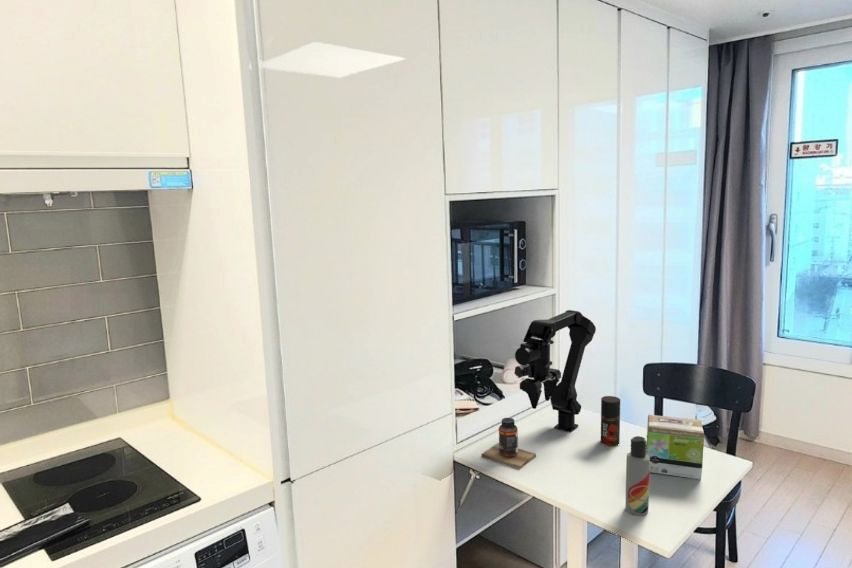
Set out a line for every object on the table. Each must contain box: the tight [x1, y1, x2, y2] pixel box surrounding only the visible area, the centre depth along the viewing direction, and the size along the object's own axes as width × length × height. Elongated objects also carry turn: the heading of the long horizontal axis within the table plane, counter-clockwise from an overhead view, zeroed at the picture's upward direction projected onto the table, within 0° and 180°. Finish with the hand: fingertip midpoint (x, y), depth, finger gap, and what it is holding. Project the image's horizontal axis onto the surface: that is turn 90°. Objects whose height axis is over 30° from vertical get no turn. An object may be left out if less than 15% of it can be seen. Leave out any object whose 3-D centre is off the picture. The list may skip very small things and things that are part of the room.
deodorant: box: [600, 395, 621, 447], centre depth 191 cm, size 6×6×15 cm
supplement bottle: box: [498, 417, 519, 457], centre depth 183 cm, size 6×6×11 cm
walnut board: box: [480, 442, 537, 470], centre depth 184 cm, size 10×14×1 cm
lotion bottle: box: [625, 435, 651, 516], centre depth 150 cm, size 6×6×20 cm
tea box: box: [646, 414, 705, 481], centre depth 172 cm, size 15×10×15 cm
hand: (540, 404), depth 192 cm, fingers open, 9 cm apart
